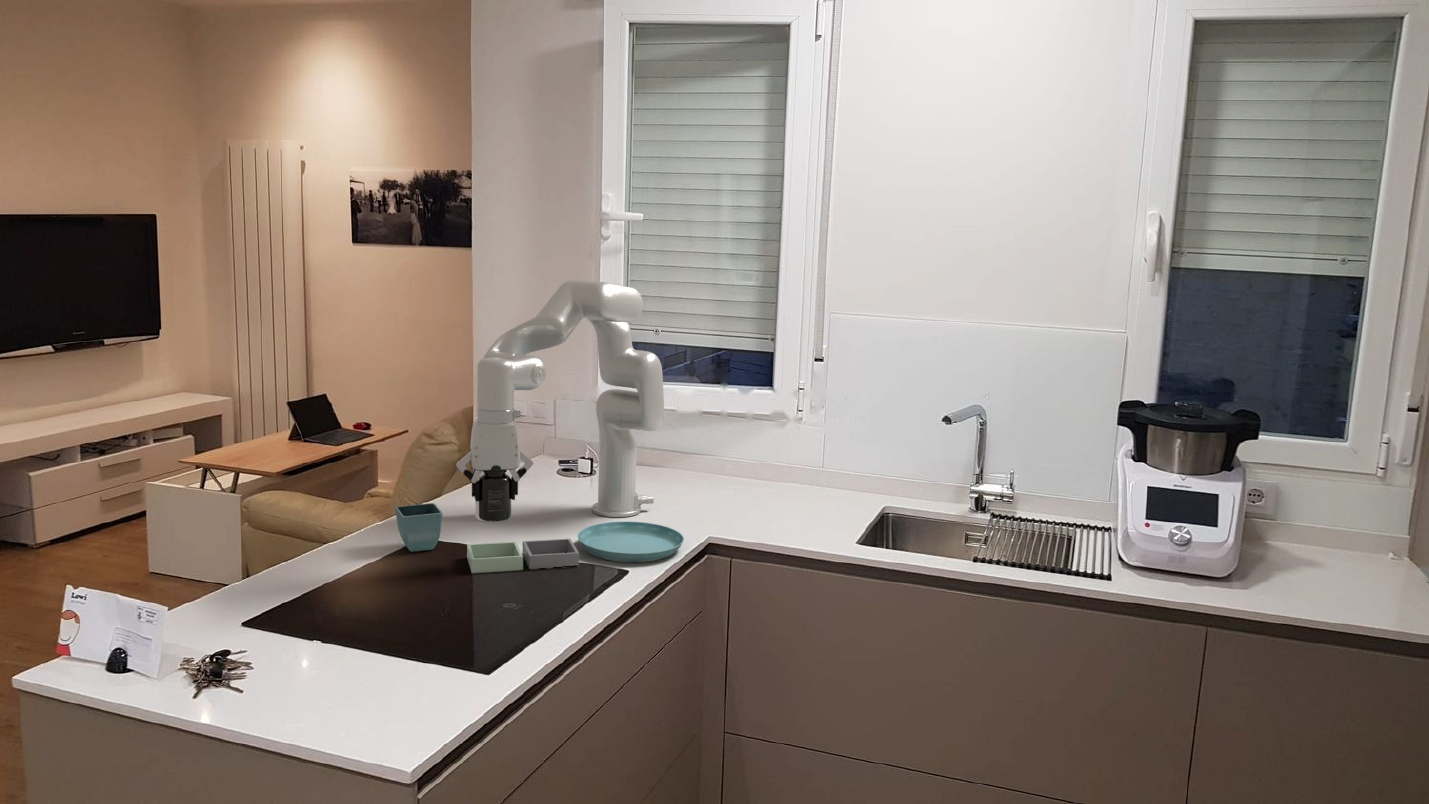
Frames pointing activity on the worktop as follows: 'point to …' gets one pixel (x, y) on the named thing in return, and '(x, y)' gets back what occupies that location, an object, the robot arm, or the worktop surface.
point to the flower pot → (419, 525)
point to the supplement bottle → (495, 495)
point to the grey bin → (550, 559)
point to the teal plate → (630, 541)
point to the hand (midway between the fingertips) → (494, 498)
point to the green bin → (494, 557)
